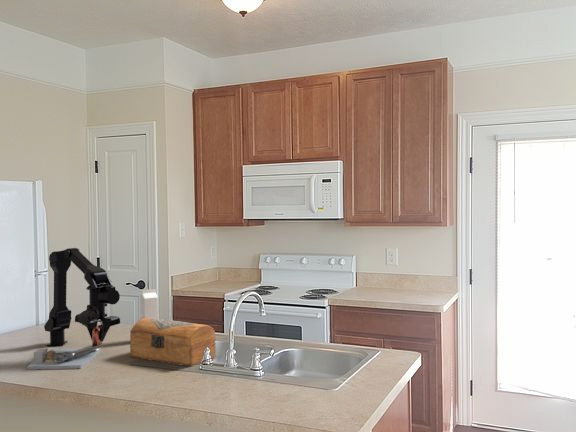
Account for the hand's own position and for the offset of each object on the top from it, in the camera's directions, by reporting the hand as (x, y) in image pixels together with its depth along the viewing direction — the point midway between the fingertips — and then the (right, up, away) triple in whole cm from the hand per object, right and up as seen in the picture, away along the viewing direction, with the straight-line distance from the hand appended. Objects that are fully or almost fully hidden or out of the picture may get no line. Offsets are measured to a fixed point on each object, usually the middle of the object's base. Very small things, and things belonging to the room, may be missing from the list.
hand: (97, 340), depth 221 cm
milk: (+16, -5, +21) cm, 27 cm away
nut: (-12, -2, -14) cm, 19 cm away
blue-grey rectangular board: (-9, -5, -9) cm, 14 cm away
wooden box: (+31, -5, -7) cm, 32 cm away
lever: (-4, -3, -8) cm, 9 cm away
